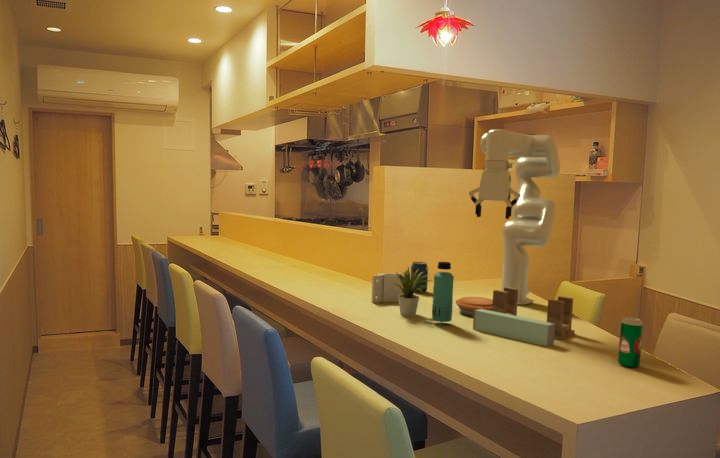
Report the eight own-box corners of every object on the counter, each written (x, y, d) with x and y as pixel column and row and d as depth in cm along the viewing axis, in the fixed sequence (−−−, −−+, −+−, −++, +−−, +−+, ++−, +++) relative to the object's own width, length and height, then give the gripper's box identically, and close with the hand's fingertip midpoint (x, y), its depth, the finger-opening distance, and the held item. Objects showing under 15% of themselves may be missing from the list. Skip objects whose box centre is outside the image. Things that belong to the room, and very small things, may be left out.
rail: (478, 327, 173) (479, 308, 172) (553, 344, 157) (555, 323, 157) (472, 329, 170) (474, 310, 170) (548, 346, 155) (550, 325, 154)
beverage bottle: (453, 322, 177) (456, 261, 175) (449, 327, 171) (453, 264, 169) (433, 320, 179) (436, 259, 178) (429, 325, 173) (432, 262, 171)
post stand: (502, 318, 185) (504, 286, 184) (574, 333, 169) (576, 298, 169) (488, 323, 178) (490, 290, 177) (561, 339, 162) (564, 303, 161)
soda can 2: (613, 362, 143) (617, 316, 142) (632, 362, 143) (635, 316, 142) (624, 368, 138) (628, 321, 137) (643, 368, 138) (647, 321, 137)
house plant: (416, 323, 175) (419, 272, 174) (379, 316, 183) (381, 267, 181) (435, 314, 187) (437, 267, 186) (399, 308, 195) (401, 262, 193)
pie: (501, 320, 183) (502, 305, 183) (454, 316, 186) (455, 301, 186) (499, 310, 198) (500, 296, 198) (455, 306, 202) (456, 293, 201)
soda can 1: (429, 291, 227) (431, 262, 226) (422, 294, 221) (423, 264, 220) (414, 289, 231) (416, 261, 230) (407, 291, 225) (408, 262, 224)
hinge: (372, 303, 202) (373, 275, 201) (367, 300, 207) (368, 273, 206) (407, 302, 206) (408, 275, 205) (402, 299, 211) (403, 273, 210)
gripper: (524, 168, 185) (521, 219, 186) (473, 167, 192) (470, 216, 193) (520, 166, 178) (517, 219, 179) (468, 165, 185) (464, 216, 186)
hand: (492, 217), depth 186 cm, fingers open, 9 cm apart
